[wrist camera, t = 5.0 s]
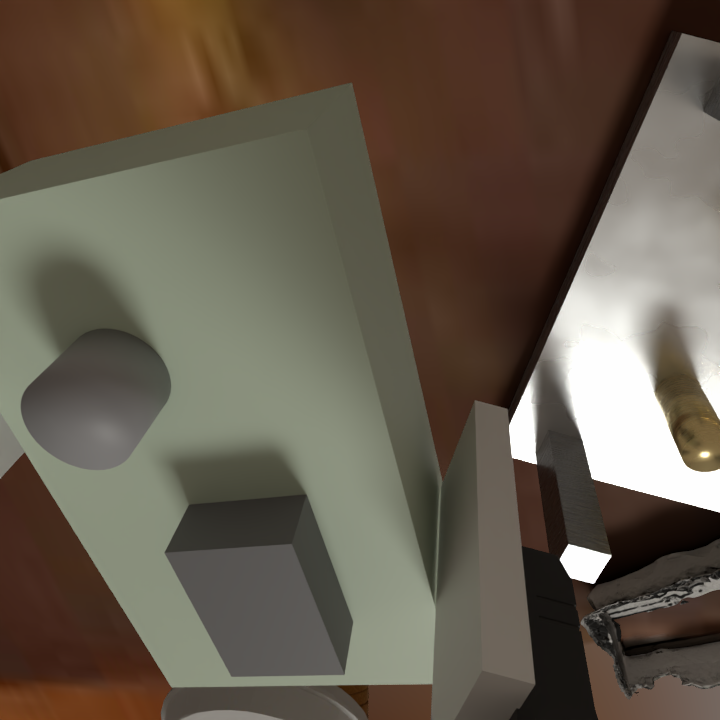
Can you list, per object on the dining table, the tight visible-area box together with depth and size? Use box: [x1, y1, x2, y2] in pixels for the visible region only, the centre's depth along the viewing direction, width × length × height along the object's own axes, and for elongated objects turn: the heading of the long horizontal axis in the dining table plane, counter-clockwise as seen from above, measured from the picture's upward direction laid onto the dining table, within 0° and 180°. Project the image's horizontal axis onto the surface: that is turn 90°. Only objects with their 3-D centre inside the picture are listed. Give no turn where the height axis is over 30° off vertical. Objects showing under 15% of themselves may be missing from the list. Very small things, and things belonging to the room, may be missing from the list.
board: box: [0, 83, 443, 687], centre depth 13 cm, size 7×12×5 cm, turn 13°
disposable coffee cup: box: [161, 685, 369, 720], centre depth 32 cm, size 10×10×12 cm
